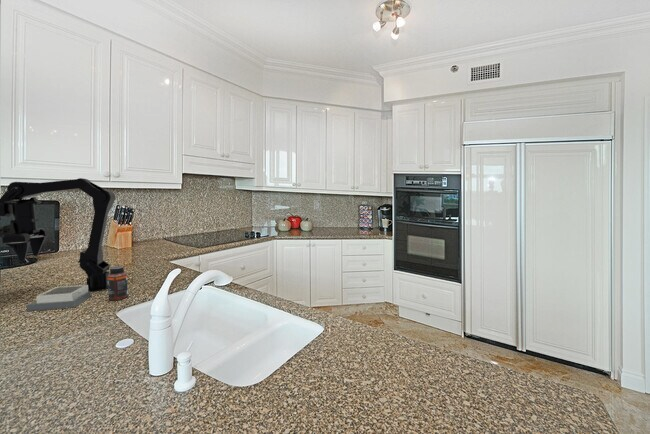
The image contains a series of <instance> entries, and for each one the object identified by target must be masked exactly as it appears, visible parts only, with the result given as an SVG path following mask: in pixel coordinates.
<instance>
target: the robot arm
mask: <svg viewBox="0 0 650 434" xmlns="http://www.w3.org/2000/svg"><path fill="white" fill-rule="evenodd" d="M70 190H71V191H73V190H80V191H82V192H84V193H85V194H86V195H87V196H89V197H91V198H92V207H93V210H94V213H93V218H92V224H91V228H90V235H89V239H88V244H87V245H88V246H87V248H86V249H84V250H82V251H80V252H79V259H78V261H77V263H79V268H80V269H81V270H83V271H84V272H85V274H86V276H87V278H86V285H88V291H92V292H93V291H94V292H95V291H106V290H107V289H108V279H107V276H108V275H109V274H110V268H111V265H110V264H109V263H108V262H106V261H105V260H104V252H103V249H102V247H103V241H104V235H105V230H106V226H107V222H108V220H107V219H108V215H109V213H110V211H111V209H112V207H113V206H114V203H115V201H116V194H115V193H114V192H113V191H112V190H109V189H105V188H103V187H101V186H99V185H97V184H95V183H93V182H92V181H90V180H89V179H86V178H82V177H79V178H77V179H65V180H55V181H45V182H31V181H27V182H26V181H12V182H10V183H9V185H8V186H7V188H6V191H5V192H4V193H3V194H2V196H0V218H8V217H11V215H13V219H11V220H10V222H9V224H8V225H4V226H2V225H1V224H0V240H1V244H4V245H5V246H8V247H10V248H12V249H13V251H14V252H15V254H16V256H17V258H18V259H19V261H20V262H24V261H26V258H27V255H28V252H29V247H30V248H31V252H32V255H33V257H38V256H39V253H40V252H41V249H42V247H43V245H44V243H45V241H46V240H47V238H48V236H50V232H49V229H48V228H44V227H43V228H38V227H37V222H39V218H37V217H36V206H35V205H36V204H42V202H43V201H41V200H39V199H38V198H37V196H39V195H43V194H46V193H55V192H62V191H63V192H65V191H70ZM25 198H27V199H25ZM13 201H16V202H13Z"/></svg>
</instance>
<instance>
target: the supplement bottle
mask: <svg viewBox="0 0 650 434" xmlns="http://www.w3.org/2000/svg"><path fill="white" fill-rule="evenodd" d="M124 268H125V267H124V266H122V265H120V266H119V265H118V266H113V267H110V268H109V275H108V276H107V279H108V288H107V289H108V290H107V291H108V293H107V294H108V300H110V301H119V300H123V299H126V298H128V297H129V286H128V285H129V283H128V281H129V280H128V273H127V272H126V271H124V270H125V269H124Z"/></svg>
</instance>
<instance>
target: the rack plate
mask: <svg viewBox="0 0 650 434" xmlns="http://www.w3.org/2000/svg"><path fill="white" fill-rule="evenodd" d="M35 297H36V298H35V300H34V301H32V302H30V303H28V304H26V312H32V311H34V312H35V311H45V310H46V311H47V310H58V309H57V308H61V309H67V308H66V307H74V308H75V306H76V307H77V306H79V305H80V304H82V303H84V302H85V301H86V300H88V299H89V298H91V297H92V292H91V291H88V285H87V284H82V285H68V286H67V285H66V286H55V287H53V288H51V289H49V290H47V291H44V292H42V293H40V294H38V295H36V296H35ZM81 302H82V303H81ZM78 304H79V305H78Z"/></svg>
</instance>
